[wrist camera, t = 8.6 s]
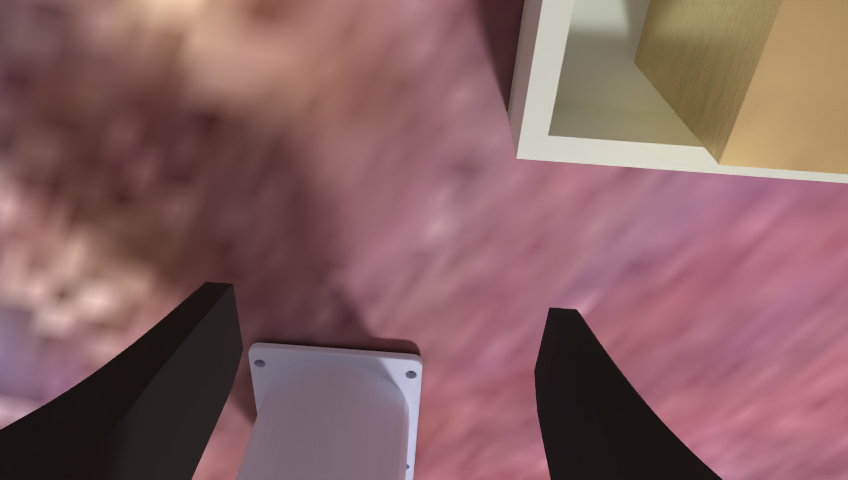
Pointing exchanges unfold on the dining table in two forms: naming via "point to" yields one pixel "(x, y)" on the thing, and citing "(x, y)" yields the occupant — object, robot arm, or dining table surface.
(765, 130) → the tea tin
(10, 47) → the dining table surface
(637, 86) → the tote
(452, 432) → the dining table surface
